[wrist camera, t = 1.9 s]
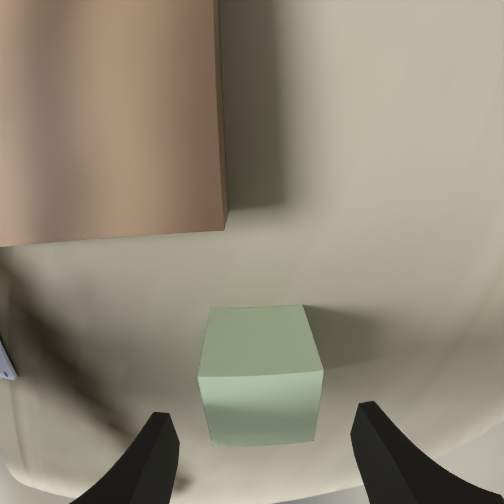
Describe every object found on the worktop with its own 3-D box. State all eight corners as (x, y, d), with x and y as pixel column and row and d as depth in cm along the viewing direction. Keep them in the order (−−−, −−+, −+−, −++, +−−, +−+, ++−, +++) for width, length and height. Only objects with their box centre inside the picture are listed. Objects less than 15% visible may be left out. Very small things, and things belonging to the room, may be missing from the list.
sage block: (219, 376, 17) (213, 446, 12) (210, 308, 15) (197, 376, 10) (299, 372, 17) (313, 440, 12) (302, 303, 15) (323, 370, 10)
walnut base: (-6, 233, 13) (-39, 250, 10) (-8, 15, 9) (-38, 5, 6) (228, 211, 13) (224, 230, 11) (218, -61, 9) (213, -95, 6)
